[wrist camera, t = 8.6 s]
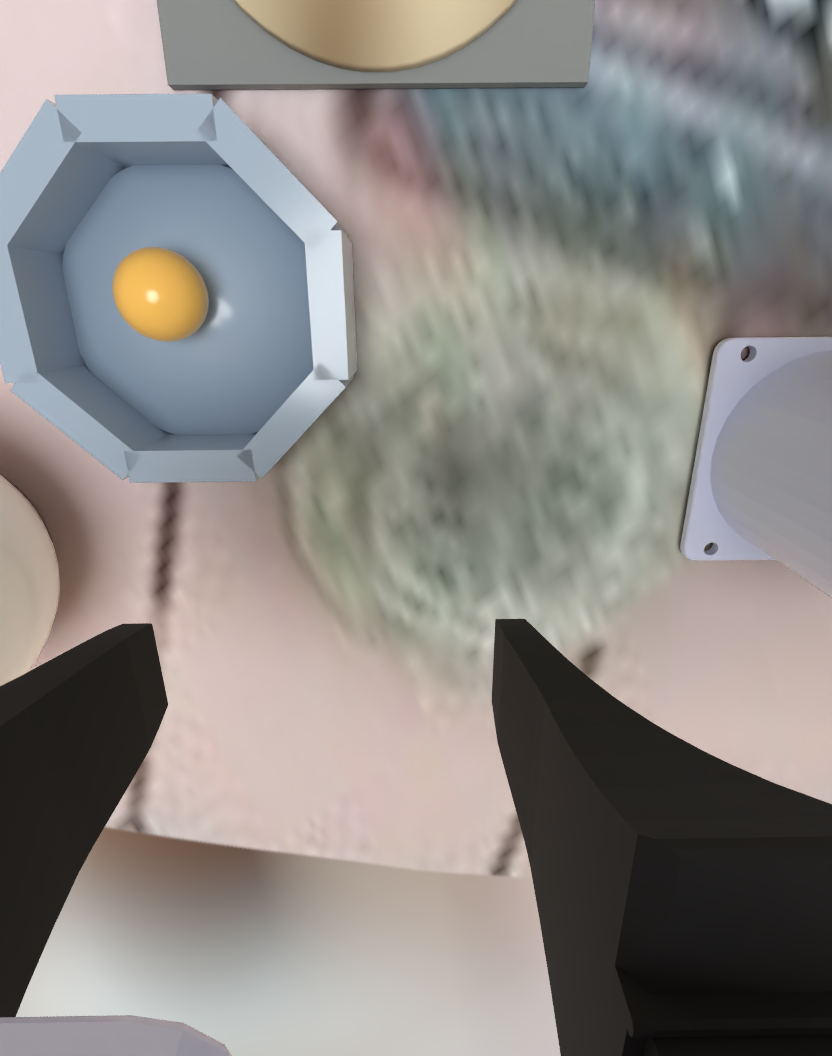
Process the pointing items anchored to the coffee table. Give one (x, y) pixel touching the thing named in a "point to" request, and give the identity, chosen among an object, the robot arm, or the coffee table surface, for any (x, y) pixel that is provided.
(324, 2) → the lid
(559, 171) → the coffee table surface
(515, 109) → the coffee table surface
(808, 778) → the coffee table surface
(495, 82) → the mat
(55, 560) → the lidded jar
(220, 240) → the bowl
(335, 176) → the coffee table surface
